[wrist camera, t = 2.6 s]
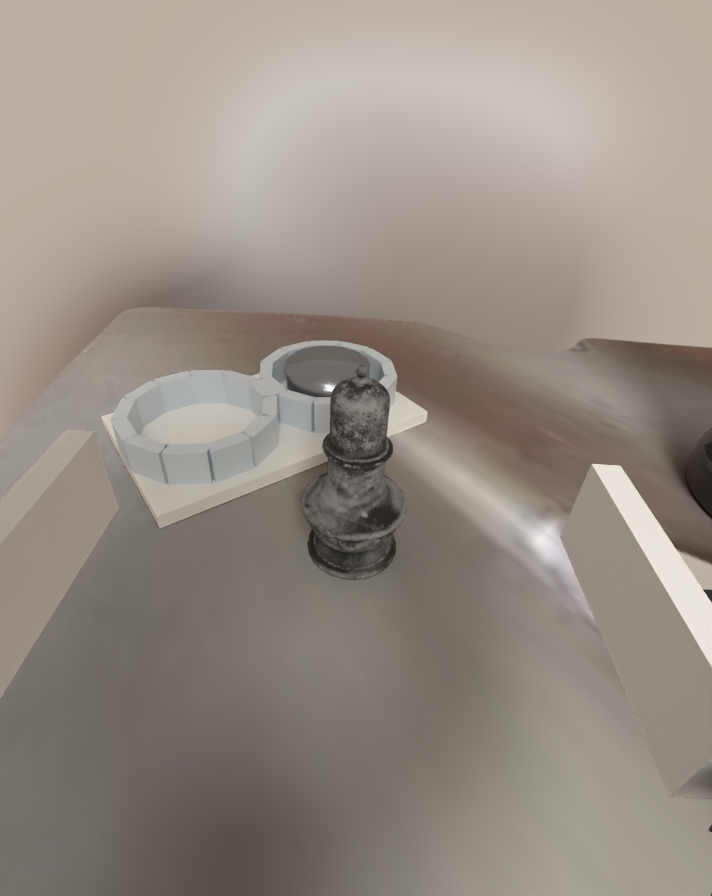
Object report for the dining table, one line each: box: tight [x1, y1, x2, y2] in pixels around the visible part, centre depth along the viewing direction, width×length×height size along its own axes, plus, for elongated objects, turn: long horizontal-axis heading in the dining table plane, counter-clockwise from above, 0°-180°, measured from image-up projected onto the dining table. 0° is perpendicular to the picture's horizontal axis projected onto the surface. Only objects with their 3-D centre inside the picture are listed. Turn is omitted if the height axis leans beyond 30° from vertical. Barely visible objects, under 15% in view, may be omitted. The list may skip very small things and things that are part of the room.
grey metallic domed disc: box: [286, 346, 370, 397], centre depth 40 cm, size 7×7×3 cm
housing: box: [101, 341, 428, 528], centre depth 38 cm, size 22×13×4 cm, turn 126°
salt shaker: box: [302, 364, 407, 580], centre depth 26 cm, size 6×6×12 cm
